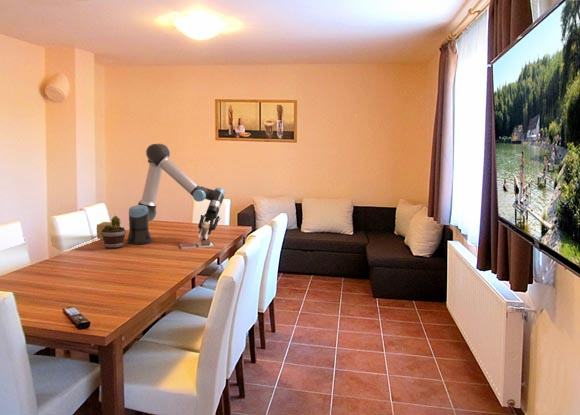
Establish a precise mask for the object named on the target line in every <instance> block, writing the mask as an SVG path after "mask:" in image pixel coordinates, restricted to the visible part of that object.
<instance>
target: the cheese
mask: <svg viewBox="0 0 580 415" xmlns="http://www.w3.org/2000/svg"><path fill="white" fill-rule="evenodd" d="M109 224H110V226H111V225H112V221H102V222H101V223H97V224H96V238H97V240H98V239H99V240H104V239H103V236H101V234H100V232H101V231H102V229H104V227H105V226H107V225H109ZM112 226H113V225H112ZM112 226H111V227H112Z"/></svg>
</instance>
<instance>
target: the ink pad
mask: <svg viewBox="0 0 580 415" xmlns="http://www.w3.org/2000/svg"><path fill="white" fill-rule="evenodd" d="M195 243H196V242H186V243H185V242H184V243H183V242H182V243H179V247H180V249H182V250H186V249H187V250H188V249H197V246H196V244H195Z"/></svg>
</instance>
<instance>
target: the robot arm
mask: <svg viewBox="0 0 580 415" xmlns="http://www.w3.org/2000/svg"><path fill="white" fill-rule="evenodd" d="M145 155H146V157H147V159H148V160H147V163H148V165H149V166H148V171H147V174H146V179H145V184H144V187H143V190H142V191H143V192H142V196H141V199H140V200H138V204H137V205H132V206H130V207H129V209H128V221H129V222H128V223H129V224H128V226H129V227H128V228H129V232H128V235H127V238H126V243H127V244H129V245H132V246H133V245H134V246H135V245H147V244H151V243H152V242H153V239H152V237H151V236H152V235H151V232H150V230H149V222H152V221H153V220H154V219H155V217H156V215H157V209H156V208H157V204H156V198H157V194H158V190H159V185H160V181H161V177H162V172H163V171H164V172H165V173H166V174H167V175H169V176H170V178H172V180H174V181H175V183H177V184H179V185H180V187H182V188H183V189H184V190H185V191H186V192H187V193H188V194H190V196H192V198H193V200H194V201H195V202H203V201H204V200H207V201H210V202H209V204H208V207H207V209H206V211H205V212H206V213H205V214H201V215H200V219H199V222H198V226H197V228H198V229H199V231H198V238H199V240H201V239H202V238H203V234H202V223H203V222H205V221H206V222H208V223H209V227H208V229H207V232H206V235H205V239H206V240H207V238H209V236H210V235H211V233H212V231H215V230H216V228H217V226H218V223H219V221H220V220H221V217H220V215H219V213H220V209H221V208H222V207H221V206H222V204H223V201H224V199H225V196H226V191H225V190H224V188H221V187H216V188H214V189H210V188H208V187H205V186H201V185H198V184H197V183H196V182H195V181H194V180H193V179H192V178H190V176H188V175H187V174H186V173H185V172H184V171H183V170H182V169H181V168H179V166H177V165H176V163H174V162H173V161H172V160H171V159H170V155H171V150H170V149H169V147H168V146H167V145H165V144H162V143H152V144H150V145H148V147H147V148H146V151H145Z"/></svg>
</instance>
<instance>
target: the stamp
mask: <svg viewBox="0 0 580 415" xmlns="http://www.w3.org/2000/svg"><path fill="white" fill-rule="evenodd" d="M209 225H210V222H206V221H205V222H204V221H203V223H202V234H203V235H202V238H201V239H200V243H201V244H202V245H210V242H211V239H210V238H209V237H208V238H207V240H206V239H205V235H206V232H207V229H209Z"/></svg>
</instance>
